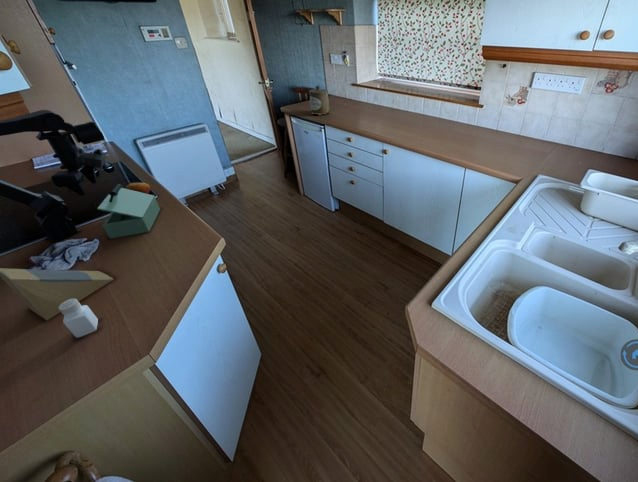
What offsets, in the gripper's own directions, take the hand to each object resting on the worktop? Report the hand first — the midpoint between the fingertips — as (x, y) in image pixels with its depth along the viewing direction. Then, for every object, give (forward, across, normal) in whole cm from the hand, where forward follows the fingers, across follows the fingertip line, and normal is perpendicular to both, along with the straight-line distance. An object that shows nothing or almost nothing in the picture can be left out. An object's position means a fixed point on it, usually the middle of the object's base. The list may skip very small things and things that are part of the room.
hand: (89, 189), depth 106 cm
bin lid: (+4, -8, -12) cm, 15 cm away
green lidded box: (+13, -8, -12) cm, 19 cm away
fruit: (+13, +14, -8) cm, 21 cm away
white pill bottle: (+13, -56, -15) cm, 59 cm away
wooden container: (+13, +121, -105) cm, 160 cm away
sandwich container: (+13, -41, -6) cm, 43 cm away
